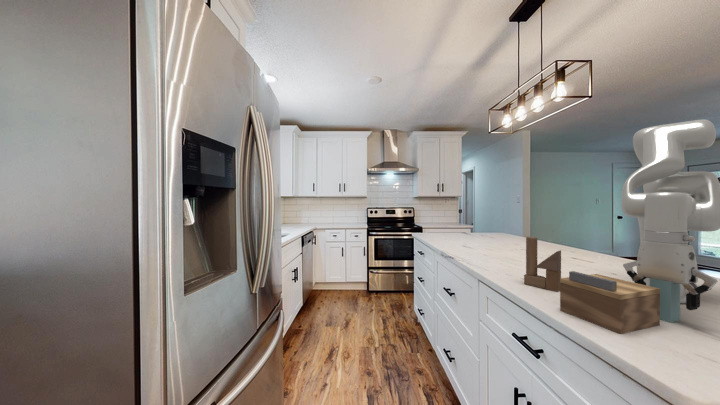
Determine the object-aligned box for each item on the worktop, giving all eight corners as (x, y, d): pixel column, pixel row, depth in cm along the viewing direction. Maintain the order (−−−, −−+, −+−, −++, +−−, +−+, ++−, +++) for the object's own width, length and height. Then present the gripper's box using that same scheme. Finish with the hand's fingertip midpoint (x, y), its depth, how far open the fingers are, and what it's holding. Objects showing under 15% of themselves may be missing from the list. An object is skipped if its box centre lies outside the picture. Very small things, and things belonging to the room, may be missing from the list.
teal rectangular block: (659, 314, 73) (659, 271, 73) (679, 320, 69) (680, 275, 69) (649, 316, 72) (649, 272, 72) (670, 322, 68) (670, 276, 68)
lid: (596, 277, 80) (596, 266, 80) (659, 293, 66) (659, 279, 66) (560, 282, 75) (560, 270, 75) (620, 300, 62) (620, 284, 62)
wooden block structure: (557, 292, 91) (557, 240, 90) (523, 284, 99) (523, 236, 99) (561, 290, 93) (561, 239, 93) (528, 282, 101) (528, 236, 101)
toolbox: (596, 304, 80) (596, 278, 80) (659, 325, 66) (659, 293, 66) (560, 310, 76) (560, 282, 75) (620, 333, 62) (620, 300, 62)
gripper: (725, 242, 63) (725, 313, 63) (632, 234, 79) (632, 290, 79) (707, 243, 61) (707, 317, 61) (615, 234, 77) (615, 292, 77)
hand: (664, 302), depth 70 cm, fingers open, 9 cm apart
